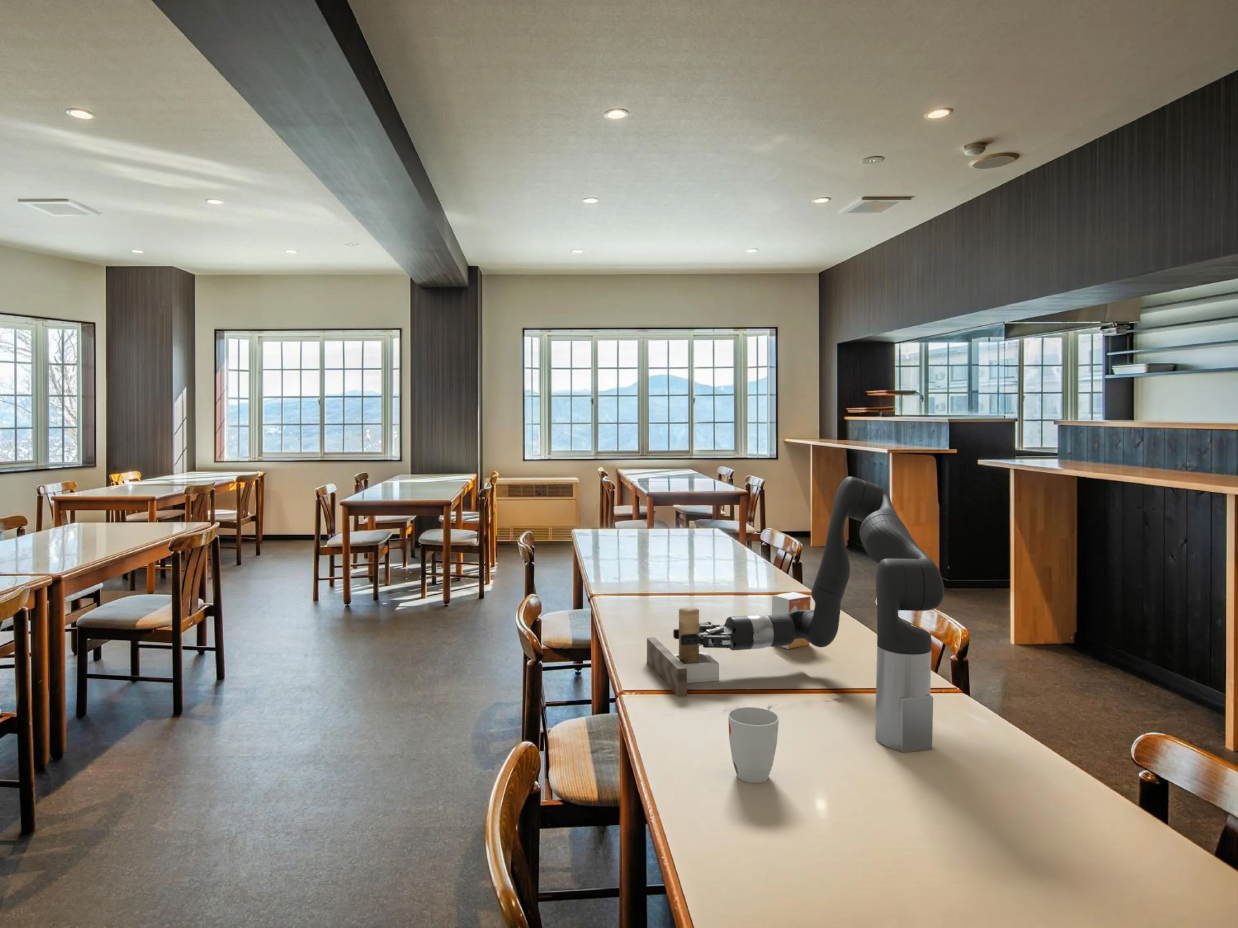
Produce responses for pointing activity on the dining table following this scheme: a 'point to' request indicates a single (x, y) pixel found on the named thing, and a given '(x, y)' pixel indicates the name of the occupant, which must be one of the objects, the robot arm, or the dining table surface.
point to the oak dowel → (688, 626)
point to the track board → (667, 666)
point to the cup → (753, 742)
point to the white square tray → (702, 669)
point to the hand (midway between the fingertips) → (677, 636)
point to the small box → (791, 610)
